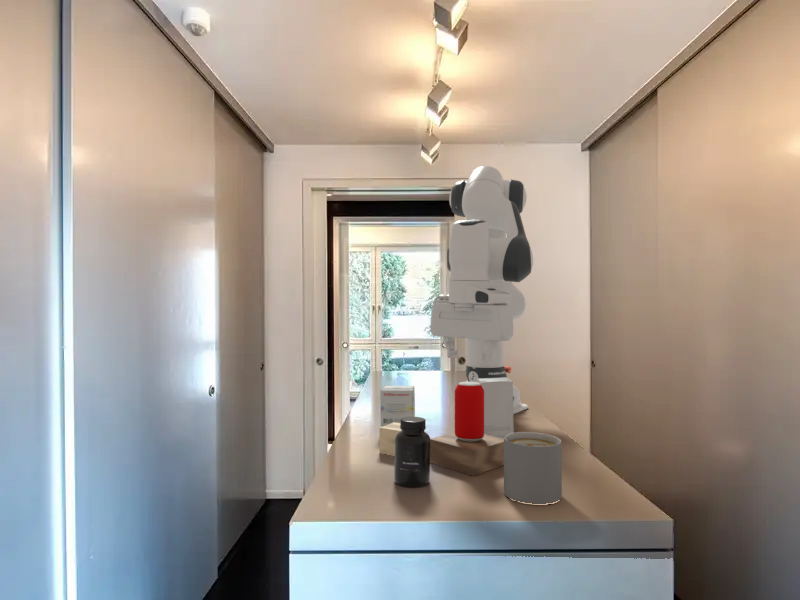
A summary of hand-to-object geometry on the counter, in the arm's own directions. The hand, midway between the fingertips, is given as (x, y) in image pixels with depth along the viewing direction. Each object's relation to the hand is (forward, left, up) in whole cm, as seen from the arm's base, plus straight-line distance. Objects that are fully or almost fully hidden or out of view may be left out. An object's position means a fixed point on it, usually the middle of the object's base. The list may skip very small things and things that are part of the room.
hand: (469, 359), depth 111 cm
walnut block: (0, 0, -22) cm, 22 cm away
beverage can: (0, 0, -17) cm, 17 cm away
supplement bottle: (+17, 0, -22) cm, 28 cm away
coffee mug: (+5, +18, -22) cm, 29 cm away
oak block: (+6, -16, -22) cm, 28 cm away
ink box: (-7, -30, -22) cm, 38 cm away
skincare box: (-21, -9, -22) cm, 32 cm away
